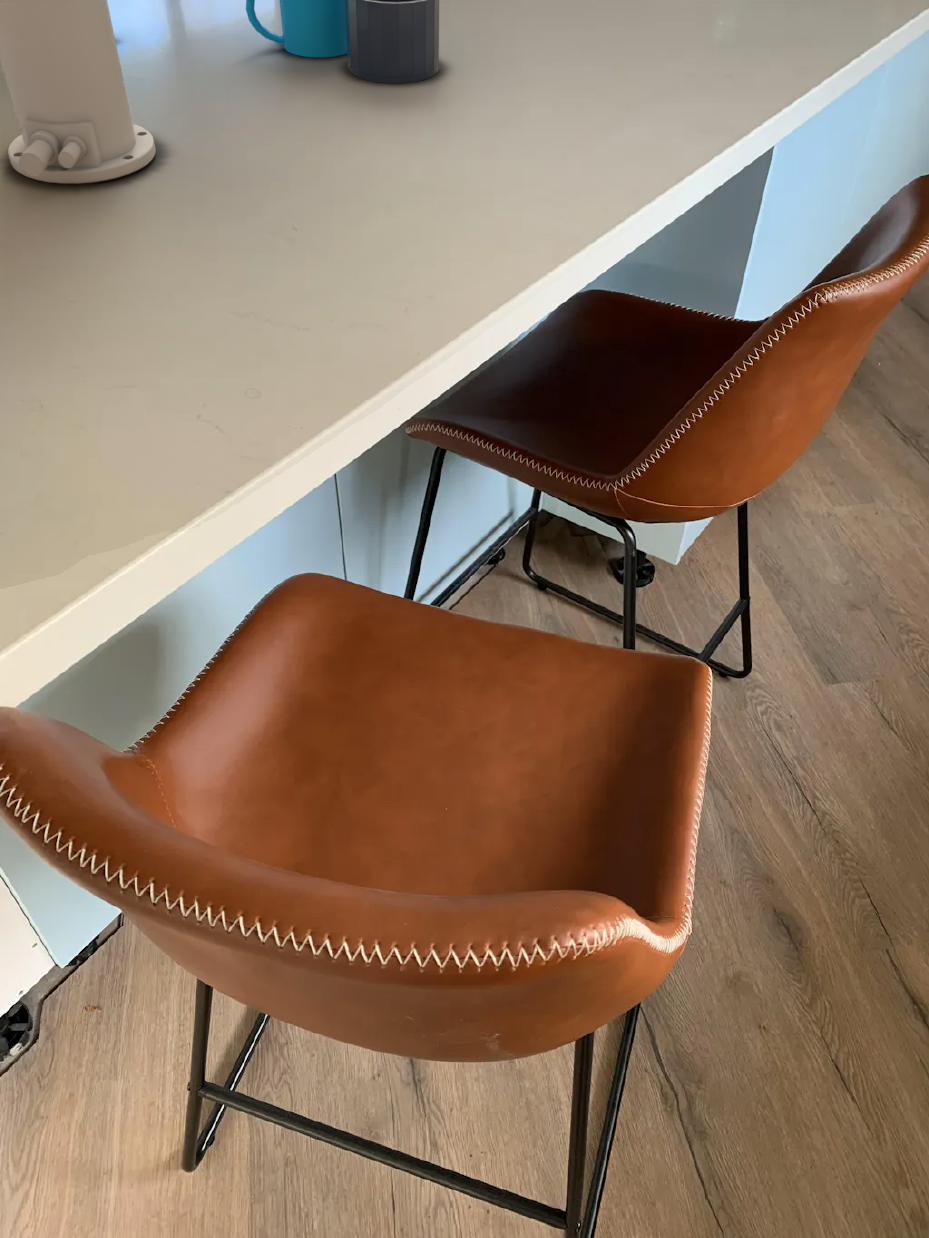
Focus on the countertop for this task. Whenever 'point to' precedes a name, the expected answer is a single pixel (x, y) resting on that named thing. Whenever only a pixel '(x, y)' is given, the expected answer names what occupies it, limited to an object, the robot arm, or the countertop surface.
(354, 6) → the cup
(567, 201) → the countertop surface
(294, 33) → the mug
